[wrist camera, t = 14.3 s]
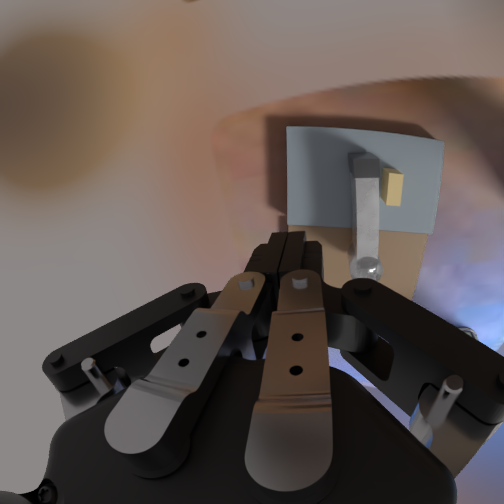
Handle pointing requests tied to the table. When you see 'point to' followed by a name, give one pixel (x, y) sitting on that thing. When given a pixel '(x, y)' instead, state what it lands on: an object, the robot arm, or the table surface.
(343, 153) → the frame
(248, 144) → the table surface
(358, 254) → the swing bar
